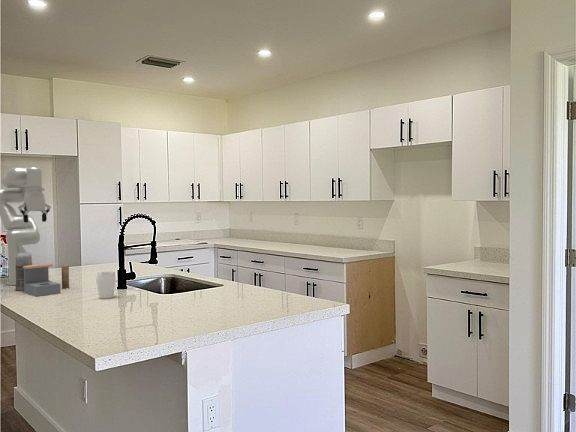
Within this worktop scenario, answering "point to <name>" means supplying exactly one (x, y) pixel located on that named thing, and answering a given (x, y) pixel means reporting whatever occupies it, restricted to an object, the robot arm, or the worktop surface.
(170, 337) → the worktop surface
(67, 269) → the peg
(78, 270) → the worktop surface
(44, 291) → the socket block
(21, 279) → the spray can
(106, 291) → the cup
